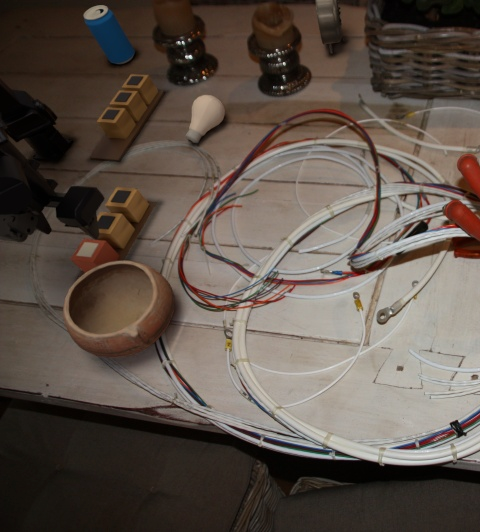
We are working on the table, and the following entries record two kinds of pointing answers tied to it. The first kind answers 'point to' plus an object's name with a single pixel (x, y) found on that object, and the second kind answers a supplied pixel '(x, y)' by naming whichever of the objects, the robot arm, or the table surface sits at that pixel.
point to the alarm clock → (329, 21)
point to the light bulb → (204, 116)
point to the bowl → (118, 308)
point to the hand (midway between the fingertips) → (73, 234)
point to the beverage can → (109, 34)
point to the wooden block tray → (123, 220)
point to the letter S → (93, 254)
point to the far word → (126, 117)
